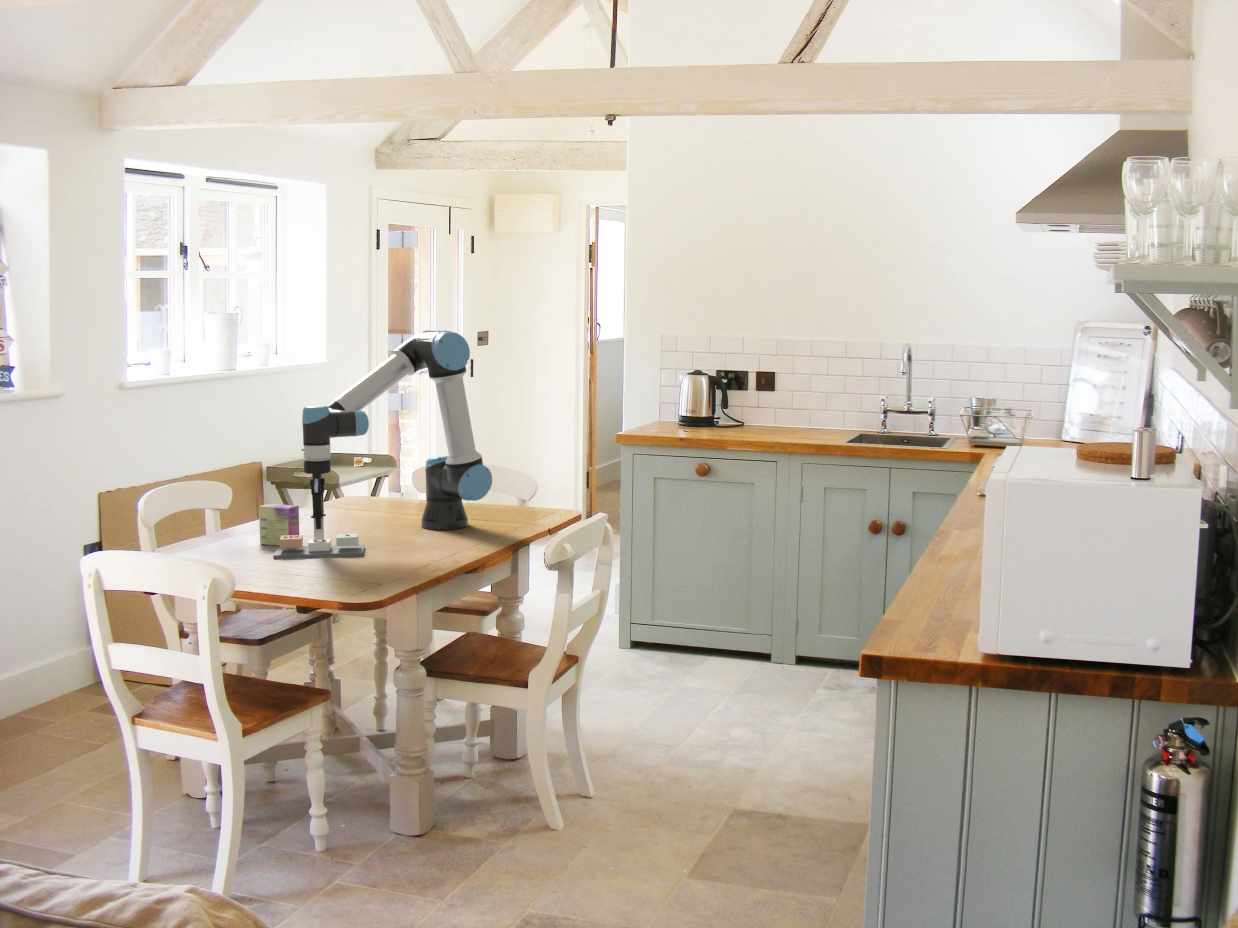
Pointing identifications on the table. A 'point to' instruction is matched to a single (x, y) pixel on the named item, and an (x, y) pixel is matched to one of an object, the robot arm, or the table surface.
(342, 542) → the tile one
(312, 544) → the tile two
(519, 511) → the table surface
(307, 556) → the keypad board
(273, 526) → the box
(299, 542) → the tile three
